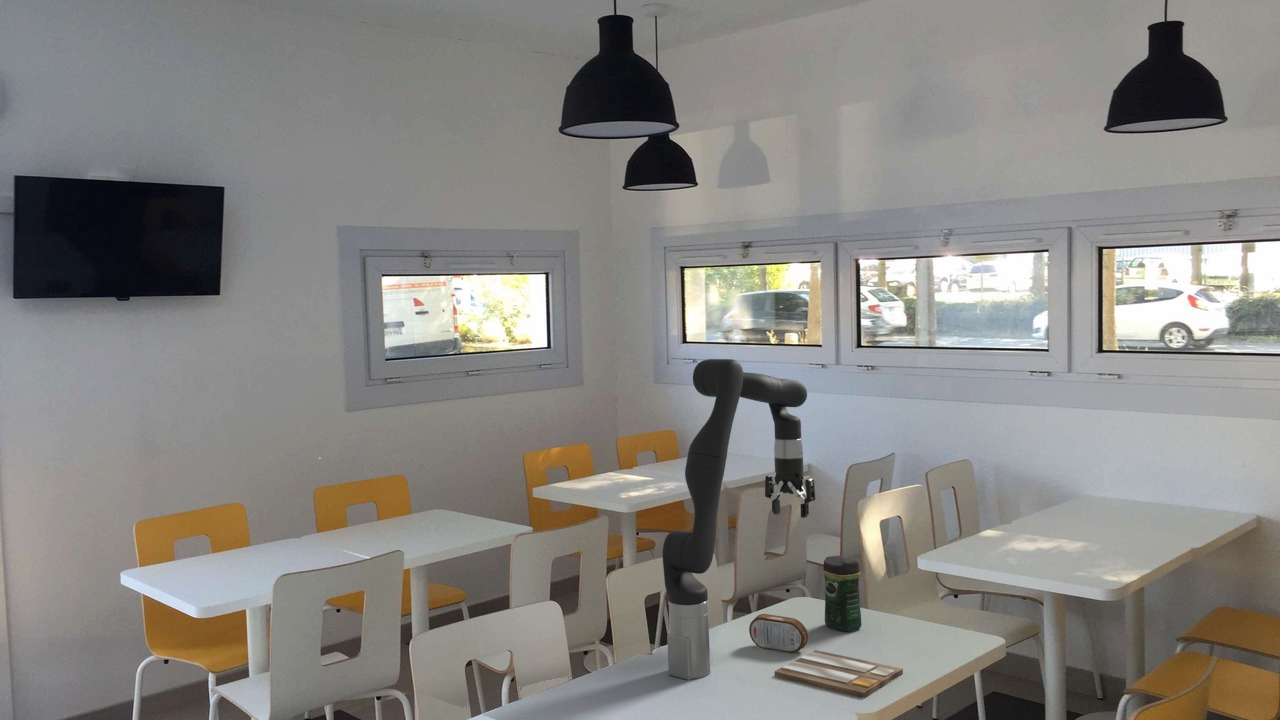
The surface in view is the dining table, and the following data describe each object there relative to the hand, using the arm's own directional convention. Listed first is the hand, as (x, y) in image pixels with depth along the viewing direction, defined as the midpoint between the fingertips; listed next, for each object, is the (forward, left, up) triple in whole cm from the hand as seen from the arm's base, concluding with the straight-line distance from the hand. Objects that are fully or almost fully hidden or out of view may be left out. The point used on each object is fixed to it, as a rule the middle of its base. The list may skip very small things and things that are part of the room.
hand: (790, 515), depth 273 cm
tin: (-20, -8, -30) cm, 37 cm away
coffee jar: (+5, -12, -30) cm, 32 cm away
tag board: (-27, -29, -29) cm, 49 cm away
